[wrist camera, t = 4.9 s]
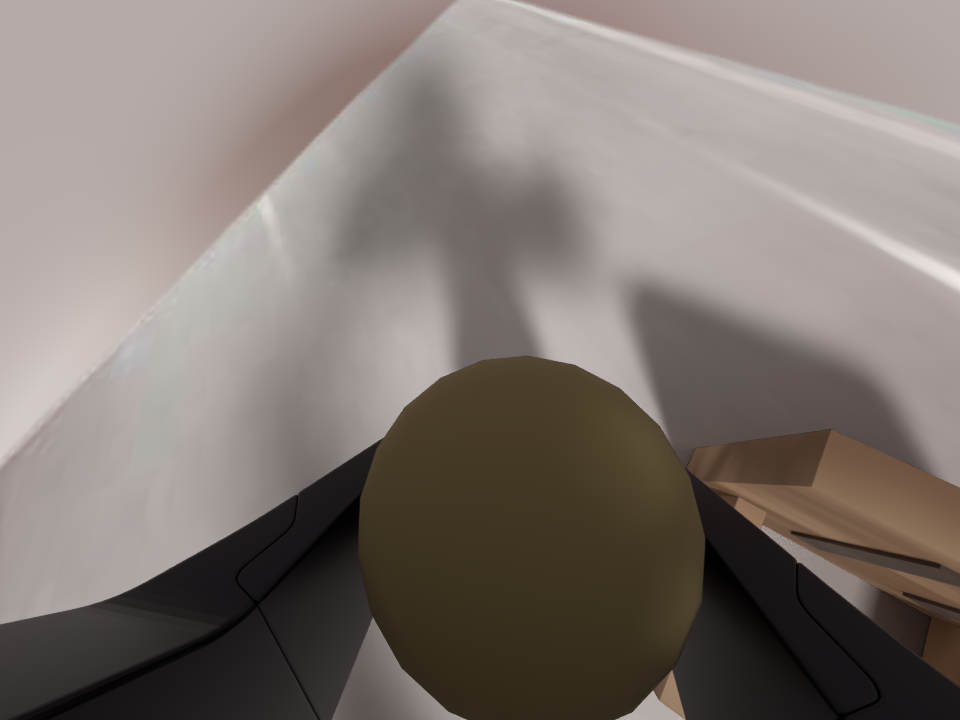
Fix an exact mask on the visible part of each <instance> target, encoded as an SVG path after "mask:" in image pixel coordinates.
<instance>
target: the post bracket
mask: <svg viewBox="0 0 960 720" xmlns="http://www.w3.org/2000/svg"><path fill="white" fill-rule="evenodd" d="M687 469H688V470H689V471H690V472H691V473H693V474H694V475H695V476H696V477H698V478H699V479H700V480H701V481H702V482H704V483H705V484H706V485H707V486H708V487H710V488H711V489H712V490H713V491H714V492H716V493H717V494H718V495H719V496H720V497H722V498H723V499H724V500H725V501H726V502H728V503H729V504H730V505H731V506H733V507H734V508H735V509H736V510H737V511H739V512H740V513H741V514H742V515H743V516H745V517H746V518H747V519H748V520H749V521H751V522H752V523H753V524H754V525H755V526H757V527H758V528H759V529H761V526H762V525H764V526H766V527H768V528H770V529H772V530H773V531H775V532H777V533H779V534H781V535H782V536H784V537H786V538H788V539H790V540H792V541H793V542H795V543H797V544H799V545H801V546H802V547H804V548H806V549H808V550H810V551H812V552H813V553H815V554H817V555H819V556H821V557H822V558H824V559H826V560H828V561H830V562H832V563H833V564H835V565H837V566H839V567H841V568H842V569H844V570H846V571H848V572H850V573H852V574H853V575H855V576H857V577H859V578H861V579H862V580H864V581H866V582H868V583H870V584H871V585H873V586H875V587H877V588H879V589H881V590H882V591H884V592H886V593H888V594H890V595H891V596H893V597H895V598H897V599H899V600H901V601H902V602H904V603H906V604H908V605H910V606H911V607H913V608H915V609H917V610H919V611H921V612H922V613H924V614H926V615H928V616H930V617H931V622H930V626H929V630H928V634H927V638H926V642H925V646H924V651H923V655H922V659H924V660H925V661H926V662H928V663H929V664H930V665H932V666H933V667H934V668H936V669H937V670H938V671H940V672H941V673H942V674H944V675H945V676H946V677H948V678H949V679H950V680H952V681H953V682H954V683H956V684H957V685H958V686H960V488H959V487H957V486H955V485H953V484H950V483H948V482H946V481H944V480H942V479H940V478H937V477H935V476H933V475H931V474H929V473H926V472H924V471H922V470H920V469H918V468H915V467H913V466H911V465H909V464H907V463H904V462H902V461H900V460H898V459H896V458H894V457H891V456H889V455H887V454H885V453H883V452H880V451H878V450H876V449H874V448H872V447H869V446H867V445H865V444H863V443H861V442H859V441H856V440H854V439H852V438H850V437H848V436H845V435H843V434H841V433H839V432H837V431H834V430H832V429H829V430H821V431H814V432H807V433H800V434H793V435H786V436H779V437H771V438H764V439H757V440H750V441H743V442H736V443H729V444H721V445H714V446H707V447H700V448H695V451H694V453H693V455H692V458H691V460H690V462H689V464H688V467H687ZM653 691H654V692H655V694H656V696H657V697H658V699H659V701H661V702H662V703H663V704H665V705H666V706H667V707H669V708H670V709H671V710H673V711H674V712H675V713H677V714H678V715H680V716H681V717H682V718H684V719H685V715H684V711H683V708H682V704H681V700H680V697H679V693H678V690H677V686H676V682H675V679H674V675H673V671H671V672H670V673H669V674H668V675H667V676H666V677H665V678H664V679H663V680H662V681H661V682H660V683H659V684H658V685H657V687H656V688H655V689H654V690H653ZM685 720H686V719H685Z"/></svg>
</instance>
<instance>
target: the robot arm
mask: <svg viewBox="0 0 960 720" xmlns="http://www.w3.org/2000/svg"><path fill="white" fill-rule="evenodd" d="M382 440H383V438H382V439H381V440H379V441H378V442H376V443H375V444H373V445H372V446H370V447H368V448H367V449H365V450H364V451H362V452H361V453H359V454H358V455H356V456H355V457H353V458H351V459H350V460H348V461H347V462H345V463H344V464H342V465H341V466H339V467H338V468H336V469H334V470H333V471H331V472H330V473H328V474H327V475H325V476H324V477H322V478H321V479H319V480H317V481H316V482H314V483H313V484H311V485H310V486H308V487H307V488H305V489H304V490H302V491H300V492H299V494H298V495H294V496H293V497H291V498H290V499H288V500H286V501H285V502H283V503H282V504H280V505H279V506H277V507H275V508H274V509H272V510H271V511H269V512H267V513H266V514H264V515H263V516H261V517H259V518H258V519H256V520H255V521H253V522H251V523H249V524H248V525H246V526H244V527H243V528H241V529H239V530H237V531H236V532H234V533H232V534H230V535H229V536H227V537H225V538H224V539H222V540H220V541H218V542H216V543H215V544H213V545H211V546H209V547H207V548H206V549H204V550H202V551H200V552H199V553H197V554H195V555H193V556H191V557H190V558H188V559H186V560H184V561H182V562H181V563H179V564H177V565H175V566H174V567H172V568H170V569H168V570H166V571H165V572H163V573H161V574H159V575H157V576H156V577H154V578H152V579H150V580H149V581H147V582H145V583H143V584H141V585H139V586H137V587H135V588H133V589H131V590H129V591H127V592H124V593H122V594H120V595H118V596H115V597H112V598H110V599H107V600H104V601H102V602H98V603H95V604H92V605H88V606H85V607H81V608H76V609H72V610H67V611H62V612H58V613H53V614H48V615H43V616H38V617H34V618H29V619H24V620H19V621H15V622H10V623H5V624H0V720H332V717H333V715H334V712H335V710H336V707H337V705H338V702H339V700H340V697H341V695H342V692H343V690H344V688H345V685H346V683H347V680H348V678H349V675H350V673H351V670H352V668H353V665H354V663H355V660H356V658H357V655H358V653H359V650H360V648H361V645H362V643H363V640H364V638H365V635H366V633H367V630H368V628H369V625H370V623H371V620H372V618H373V616H372V614H371V612H370V607H369V603H368V598H367V594H366V589H365V585H364V581H363V576H362V572H361V567H360V563H359V558H358V535H359V515H360V497H361V494H362V491H363V488H364V485H365V482H366V479H367V476H368V473H369V470H370V467H371V464H372V461H373V458H374V455H375V452H376V449H377V447H378V446H379V444H380V443H381V441H382ZM684 468H685V467H684ZM685 470H686V471H687V473H688V475H689V477H690V480H691V484H692V488H693V492H694V496H695V499H696V503H697V507H698V511H699V515H700V519H701V523H702V527H703V531H704V535H705V553H704V573H703V592H702V604H701V607H700V609H699V612H698V614H697V617H696V619H695V622H694V624H693V627H692V629H691V632H690V634H689V636H688V639H687V641H686V644H685V646H684V649H683V651H682V654H681V656H680V659H679V661H678V664H677V665H676V666H675V667H674V668H673V670H672V671H673V675H674V679H675V682H676V686H677V690H678V693H679V697H680V700H681V704H682V708H683V711H684V715H685V719H686V720H960V686H958V685H957V684H956V683H954V682H953V681H952V680H950V679H949V678H948V677H946V676H945V675H944V674H942V673H941V672H940V671H938V670H937V669H936V668H934V667H933V666H932V665H930V664H929V663H928V662H926V661H925V660H924V659H922V658H921V657H920V656H918V655H917V654H916V653H914V652H913V651H912V650H910V649H909V648H908V647H906V646H905V645H904V644H902V643H901V642H900V641H898V640H897V639H896V638H895V637H893V636H892V635H891V634H889V633H888V632H887V631H885V630H884V629H883V628H881V627H880V626H879V625H878V624H876V623H875V622H874V621H872V620H871V619H870V618H868V617H867V616H866V615H864V614H863V613H862V612H861V611H859V610H858V609H857V608H856V607H854V606H853V605H852V604H851V603H849V602H848V601H847V600H846V599H844V598H843V597H842V596H841V595H839V594H838V593H837V592H836V591H834V590H833V589H832V588H831V587H830V586H828V585H827V584H826V583H825V582H823V581H822V580H821V579H820V578H818V577H817V576H816V575H815V574H814V573H812V572H811V571H810V570H809V569H808V568H806V567H805V566H804V565H803V564H801V563H797V561H796V559H795V558H794V557H793V556H792V555H790V554H789V553H788V552H787V551H786V550H784V549H783V548H782V547H781V546H780V545H778V544H777V543H776V542H775V541H774V540H772V539H771V538H770V537H769V536H768V535H766V534H765V533H764V532H763V531H762V530H760V529H759V528H758V527H757V526H755V525H754V524H753V523H752V522H751V521H749V520H748V519H747V518H746V517H745V516H743V515H742V514H741V513H740V512H739V511H737V510H736V509H735V508H734V507H733V506H731V505H730V504H729V503H728V502H726V501H725V500H724V499H723V498H722V497H720V496H719V495H718V494H717V493H716V492H714V491H713V490H712V489H711V488H710V487H708V486H707V485H706V484H705V483H704V482H702V481H701V480H700V479H699V478H698V477H696V476H695V475H694V474H693V473H691V472H690V471H689V470H688V469H687V468H685Z"/></svg>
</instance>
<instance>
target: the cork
mask: <svg viewBox="0 0 960 720" xmlns="http://www.w3.org/2000/svg"><path fill="white" fill-rule="evenodd" d="M704 553H705V535H704V531H703V527H702V523H701V519H700V515H699V511H698V507H697V503H696V499H695V496H694V492H693V488H692V484H691V480H690V477H689V475H688V473H687V471H686V470H685V468H684V466H683V465H682V463H681V461H680V460H679V458H678V456H677V454H676V453H675V451H674V449H673V448H672V446H671V444H670V443H669V441H668V439H667V438H666V436H665V434H664V432H663V431H662V429H661V427H660V426H659V425H658V424H657V423H656V422H655V421H654V420H653V419H652V418H651V417H650V416H649V415H648V414H646V413H645V412H644V411H643V410H642V409H641V408H640V407H639V406H638V405H637V404H636V403H635V402H634V401H633V400H632V399H631V398H630V397H629V396H628V395H627V394H625V393H624V392H623V391H622V390H621V389H620V388H618V387H616V386H615V385H613V384H611V383H609V382H607V381H605V380H603V379H601V378H599V377H597V376H595V375H593V374H591V373H590V372H588V371H586V370H584V369H582V368H580V367H578V366H576V365H573V364H568V363H563V362H558V361H552V360H547V359H542V358H537V357H532V356H521V357H511V358H501V359H491V360H482V361H480V362H477V363H475V364H473V365H470V366H468V367H465V368H463V369H461V370H458V371H456V372H454V373H451V374H449V375H446V376H444V377H442V378H440V379H439V380H437V381H436V382H435V383H434V384H433V385H431V386H430V387H429V388H428V389H426V390H425V391H424V392H423V393H422V394H420V395H419V396H418V397H417V398H416V399H414V400H413V401H412V402H411V403H409V404H408V405H407V406H406V407H405V408H404V409H403V411H402V412H401V413H400V415H399V416H398V418H397V419H396V421H395V422H394V424H393V425H392V427H391V428H390V430H389V431H388V433H387V434H386V436H385V437H384V438H383V440H382V441H381V443H380V444H379V446H378V447H377V449H376V452H375V455H374V458H373V461H372V464H371V467H370V470H369V473H368V476H367V479H366V482H365V485H364V488H363V491H362V494H361V497H360V515H359V535H358V558H359V563H360V567H361V572H362V576H363V581H364V585H365V589H366V594H367V598H368V603H369V607H370V612H371V614H372V616H373V618H374V619H375V621H376V623H377V625H378V627H379V628H380V630H381V632H382V634H383V636H384V637H385V639H386V641H387V643H388V645H389V646H390V648H391V650H392V652H393V653H394V655H395V657H396V659H397V661H398V662H399V664H400V666H401V668H402V669H403V670H404V671H405V672H407V673H408V674H409V675H410V676H411V677H412V678H413V679H414V680H415V681H416V682H417V683H418V684H419V685H420V686H422V687H423V688H424V689H425V690H426V691H427V692H428V693H429V694H430V695H431V696H432V697H433V698H434V699H435V700H437V701H438V702H439V703H440V704H441V705H442V706H443V707H444V708H445V709H446V710H447V711H448V712H450V713H453V714H455V715H457V716H460V717H462V718H464V719H467V720H615V719H618V718H620V717H622V716H625V715H627V714H629V713H632V712H633V711H634V710H635V709H636V708H637V707H638V706H639V705H640V703H641V702H642V701H643V700H644V699H645V698H646V697H647V696H648V695H649V694H650V693H651V692H652V691H653V690H654V689H655V688H656V687H657V685H658V684H659V683H660V682H661V681H662V680H663V679H664V678H665V677H666V676H667V675H668V674H669V673H670V672H671V671H672V670H673V668H674V667H675V666H676V665H677V664H678V661H679V659H680V656H681V654H682V651H683V649H684V646H685V644H686V641H687V639H688V636H689V634H690V632H691V629H692V627H693V624H694V622H695V619H696V617H697V614H698V612H699V609H700V607H701V604H702V592H703V573H704Z"/></svg>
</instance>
